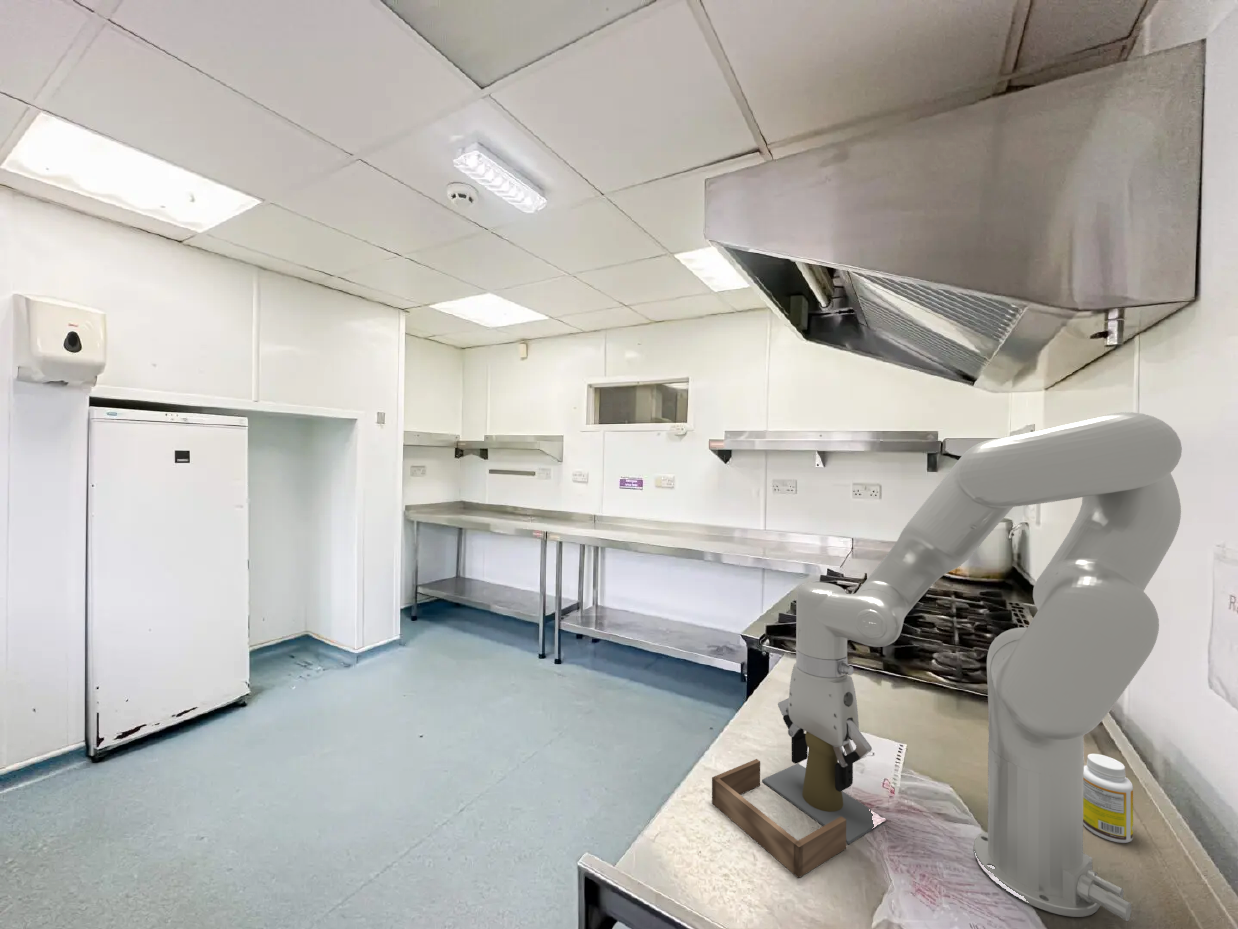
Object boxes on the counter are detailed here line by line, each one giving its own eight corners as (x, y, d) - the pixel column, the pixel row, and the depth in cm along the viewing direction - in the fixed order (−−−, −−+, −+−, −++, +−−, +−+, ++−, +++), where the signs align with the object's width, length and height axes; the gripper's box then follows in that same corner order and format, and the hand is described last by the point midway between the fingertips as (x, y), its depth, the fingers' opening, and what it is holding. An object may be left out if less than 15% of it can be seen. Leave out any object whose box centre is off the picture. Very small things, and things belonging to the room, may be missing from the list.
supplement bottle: (1102, 816, 76) (1102, 749, 76) (1144, 844, 70) (1144, 771, 70) (1069, 818, 75) (1069, 751, 75) (1109, 847, 70) (1109, 773, 70)
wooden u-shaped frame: (846, 848, 69) (846, 819, 69) (798, 878, 64) (798, 847, 64) (756, 782, 83) (756, 759, 83) (711, 802, 78) (712, 777, 78)
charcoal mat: (885, 821, 75) (885, 818, 75) (848, 844, 70) (848, 841, 70) (798, 765, 88) (798, 763, 88) (762, 782, 84) (762, 779, 84)
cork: (835, 787, 82) (836, 720, 82) (849, 813, 76) (849, 740, 76) (797, 785, 82) (798, 718, 82) (808, 810, 76) (808, 738, 76)
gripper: (888, 677, 74) (887, 797, 74) (792, 641, 89) (792, 741, 88) (857, 689, 70) (856, 815, 70) (762, 649, 85) (762, 753, 85)
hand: (820, 773), depth 79 cm, fingers open, 7 cm apart
